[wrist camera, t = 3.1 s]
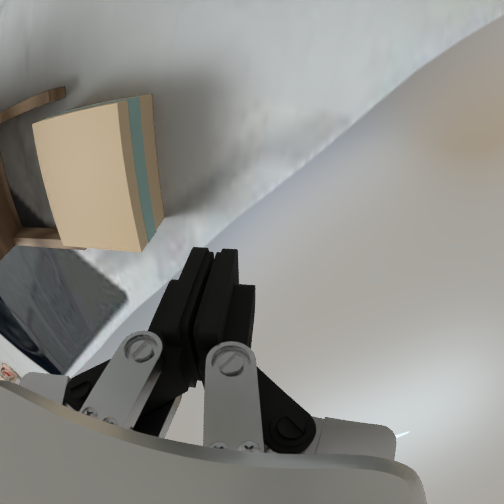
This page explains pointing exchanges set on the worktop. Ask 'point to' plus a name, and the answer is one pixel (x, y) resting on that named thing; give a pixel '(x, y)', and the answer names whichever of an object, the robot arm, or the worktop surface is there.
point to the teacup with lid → (7, 373)
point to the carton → (102, 173)
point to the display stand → (3, 209)
